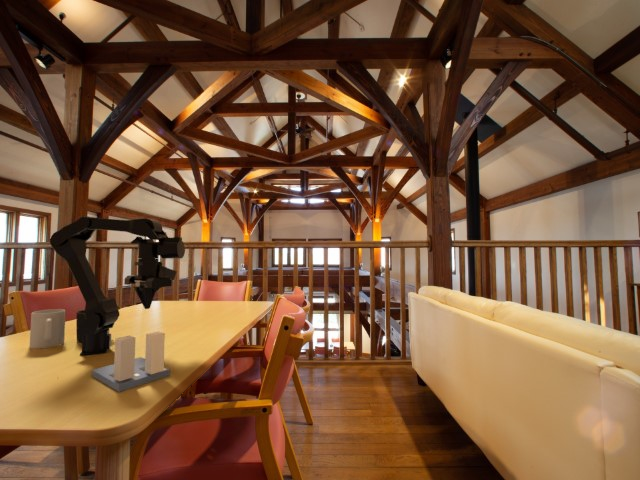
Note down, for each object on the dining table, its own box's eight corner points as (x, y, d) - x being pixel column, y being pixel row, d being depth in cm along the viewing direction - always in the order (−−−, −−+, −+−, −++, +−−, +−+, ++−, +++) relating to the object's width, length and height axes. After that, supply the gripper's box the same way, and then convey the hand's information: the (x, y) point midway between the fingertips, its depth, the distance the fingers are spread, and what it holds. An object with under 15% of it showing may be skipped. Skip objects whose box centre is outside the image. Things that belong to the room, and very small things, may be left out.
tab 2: (144, 371, 73) (146, 333, 74) (157, 367, 76) (158, 331, 76) (151, 374, 71) (152, 335, 72) (163, 370, 74) (164, 333, 74)
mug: (29, 344, 100) (31, 310, 100) (63, 339, 105) (65, 307, 106) (28, 353, 91) (30, 316, 91) (65, 347, 97) (67, 313, 97)
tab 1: (113, 378, 69) (115, 338, 70) (128, 374, 72) (129, 335, 72) (119, 381, 67) (121, 340, 68) (134, 377, 70) (135, 337, 70)
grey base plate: (91, 376, 75) (92, 369, 75) (140, 362, 84) (140, 356, 84) (118, 392, 66) (119, 384, 66) (169, 375, 76) (170, 368, 76)
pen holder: (89, 335, 111) (91, 308, 111) (115, 336, 111) (116, 308, 111) (67, 343, 102) (69, 313, 102) (95, 343, 101) (96, 313, 102)
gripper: (189, 258, 96) (188, 308, 96) (159, 258, 107) (158, 302, 106) (153, 259, 87) (151, 313, 86) (124, 258, 98) (123, 307, 97)
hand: (147, 308), depth 94 cm, fingers closed
